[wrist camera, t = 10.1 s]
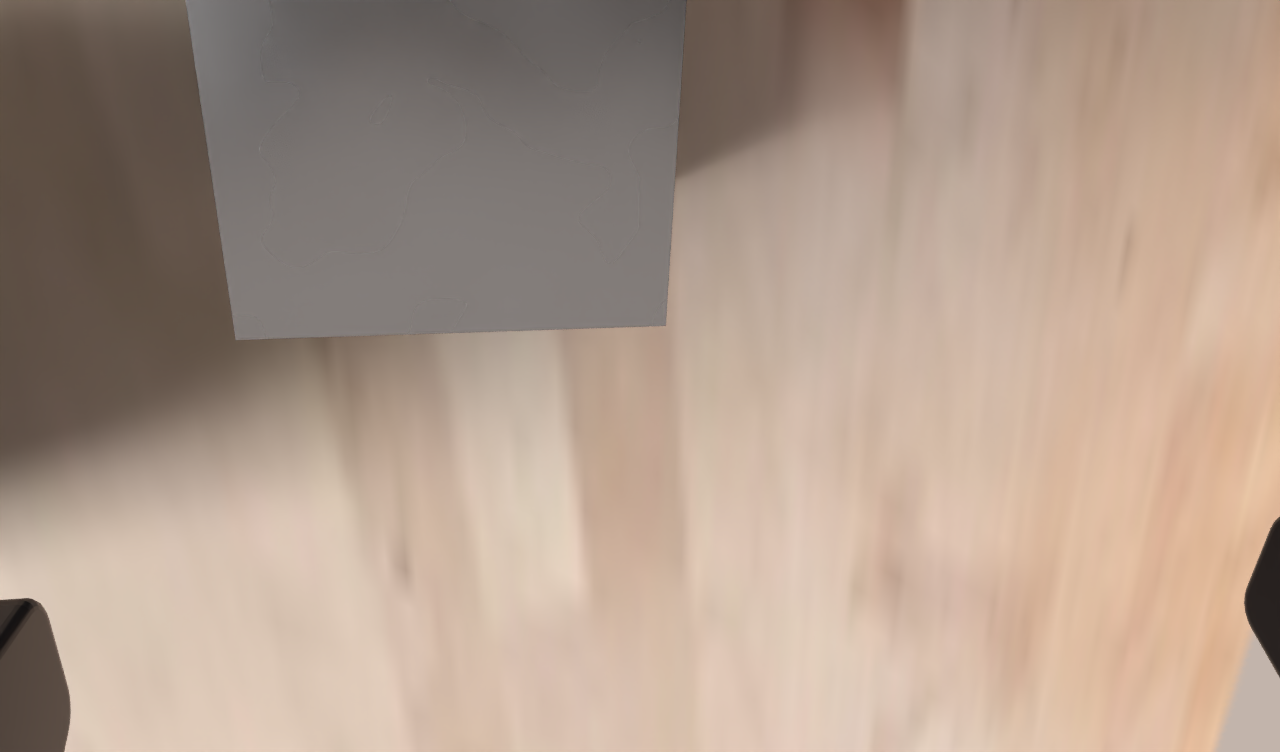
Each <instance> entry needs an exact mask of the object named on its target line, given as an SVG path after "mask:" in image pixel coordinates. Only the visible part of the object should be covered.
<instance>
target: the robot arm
mask: <svg viewBox="0 0 1280 752" xmlns="http://www.w3.org/2000/svg"><path fill="white" fill-rule="evenodd" d="M1244 605H1245V612H1246V616H1247V619H1248V622H1249V624H1250V626H1251V628H1252V630H1253V632H1254V633H1255V635H1256V637H1257V638H1258V640H1259V642H1260V644H1261V646H1262V647H1263V649H1264V651H1265V653H1266V654H1267V656H1268V658H1269V660H1270V661H1271V663H1272V665H1273V667H1274V668H1275V670H1276V672H1277V674H1278V675H1279V677H1280V517H1279V518H1278V519H1277V520H1276V521H1275V522H1274V523H1273V525H1272V527H1271V529H1270V531H1269V534H1268V536H1267V539H1266V541H1265V544H1264V546H1263V549H1262V551H1261V554H1260V556H1259V559H1258V561H1257V564H1256V566H1255V568H1254V571H1253V573H1252V576H1251V578H1250V581H1249V583H1248V586H1247V589H1246V592H1245V600H1244ZM69 725H70V695H69V690H68V686H67V682H66V679H65V675H64V672H63V668H62V664H61V661H60V657H59V653H58V650H57V646H56V643H55V639H54V635H53V632H52V628H51V625H50V621H49V618H48V615H47V613H46V611H45V609H44V608H43V606H42V605H41V604H40V603H39V602H37V601H35V600H33V599H29V598H23V599H8V600H0V752H64V750H65V745H66V741H67V736H68V731H69Z"/></svg>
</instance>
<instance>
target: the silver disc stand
mask: <svg viewBox="0 0 1280 752" xmlns="http://www.w3.org/2000/svg"><path fill="white" fill-rule="evenodd" d="M185 1H186V8H187V15H188V21H189V28H190V35H191V42H192V48H193V55H194V62H195V69H196V75H197V82H198V89H199V96H200V103H201V109H202V116H203V123H204V130H205V136H206V143H207V150H208V157H209V163H210V170H211V177H212V184H213V191H214V197H215V204H216V211H217V218H218V224H219V231H220V238H221V245H222V251H223V258H224V265H225V272H226V278H227V285H228V292H229V299H230V306H231V312H232V319H233V326H234V333H235V339H236V340H254V339H284V338H314V337H344V336H374V335H404V334H434V333H464V332H494V331H524V330H554V329H584V328H614V327H644V326H666V313H667V297H668V281H669V266H670V250H671V235H672V219H673V203H674V188H675V172H676V157H677V141H678V125H679V110H680V94H681V79H682V63H683V47H684V32H685V16H686V1H687V0H185Z"/></svg>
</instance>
